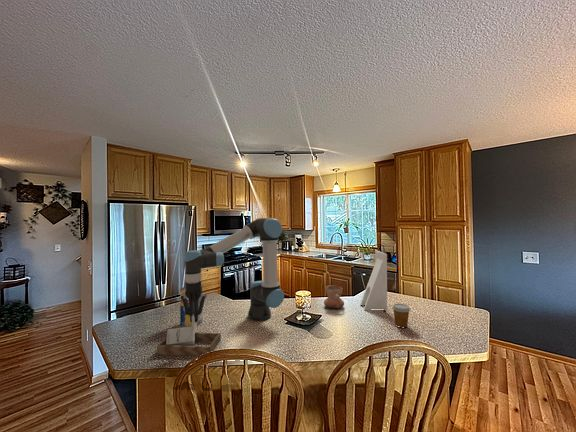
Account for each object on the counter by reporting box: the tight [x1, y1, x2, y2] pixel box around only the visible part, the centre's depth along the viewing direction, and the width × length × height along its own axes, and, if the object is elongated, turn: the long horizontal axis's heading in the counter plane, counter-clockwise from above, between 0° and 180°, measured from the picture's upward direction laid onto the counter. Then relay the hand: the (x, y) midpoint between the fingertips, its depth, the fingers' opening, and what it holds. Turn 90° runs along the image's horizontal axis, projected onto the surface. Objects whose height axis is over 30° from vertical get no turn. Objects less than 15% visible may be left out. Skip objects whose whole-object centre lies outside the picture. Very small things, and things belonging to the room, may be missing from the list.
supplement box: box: [166, 326, 196, 346], centre depth 128 cm, size 7×7×13 cm
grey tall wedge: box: [359, 249, 388, 312], centre depth 183 cm, size 20×14×40 cm
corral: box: [156, 331, 222, 357], centre depth 128 cm, size 26×15×4 cm, turn 87°
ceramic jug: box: [323, 284, 345, 310], centre depth 185 cm, size 18×14×14 cm
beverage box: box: [179, 285, 203, 327], centre depth 157 cm, size 7×11×22 cm, turn 86°
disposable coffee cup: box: [392, 303, 411, 327], centre depth 151 cm, size 10×10×12 cm
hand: (194, 328), depth 128 cm, fingers closed
